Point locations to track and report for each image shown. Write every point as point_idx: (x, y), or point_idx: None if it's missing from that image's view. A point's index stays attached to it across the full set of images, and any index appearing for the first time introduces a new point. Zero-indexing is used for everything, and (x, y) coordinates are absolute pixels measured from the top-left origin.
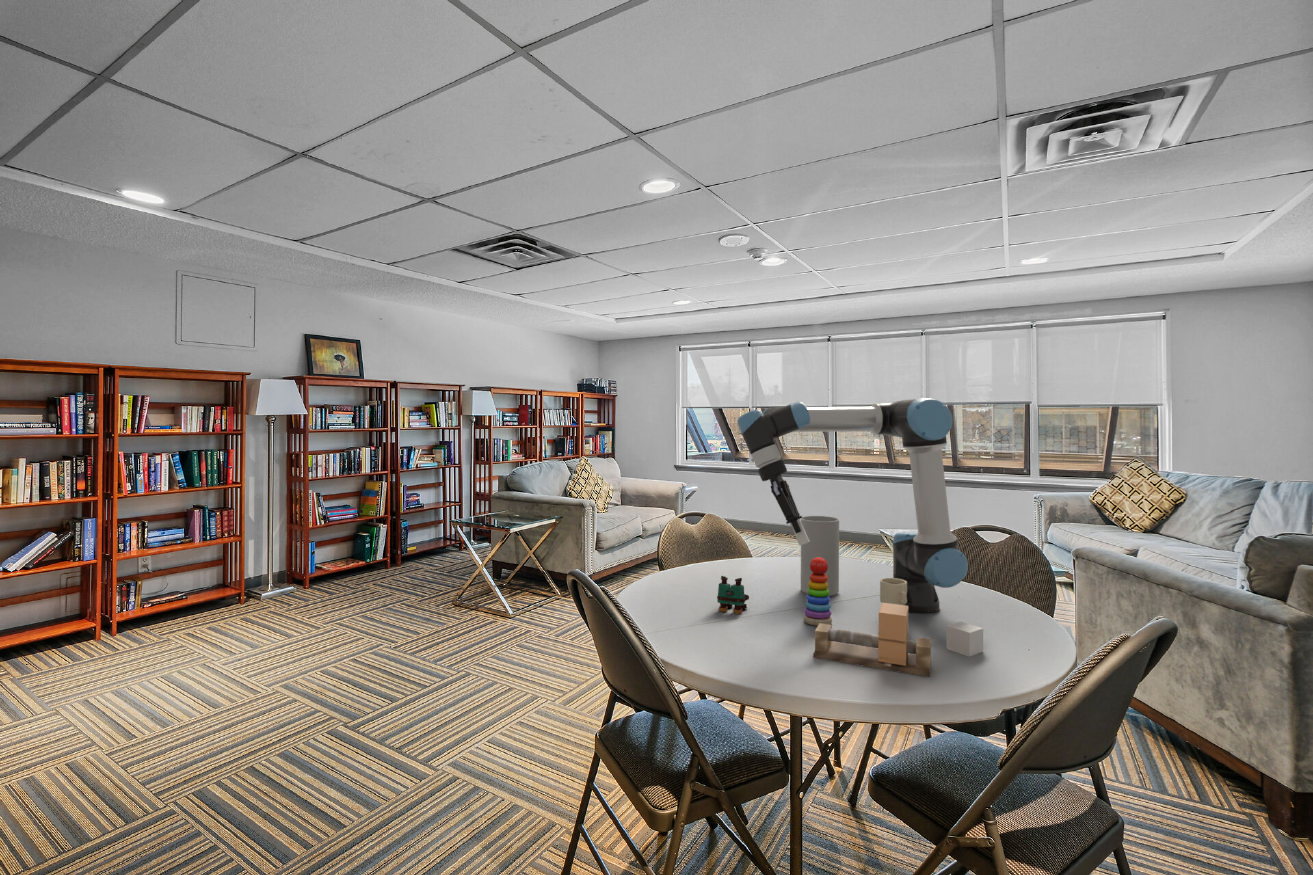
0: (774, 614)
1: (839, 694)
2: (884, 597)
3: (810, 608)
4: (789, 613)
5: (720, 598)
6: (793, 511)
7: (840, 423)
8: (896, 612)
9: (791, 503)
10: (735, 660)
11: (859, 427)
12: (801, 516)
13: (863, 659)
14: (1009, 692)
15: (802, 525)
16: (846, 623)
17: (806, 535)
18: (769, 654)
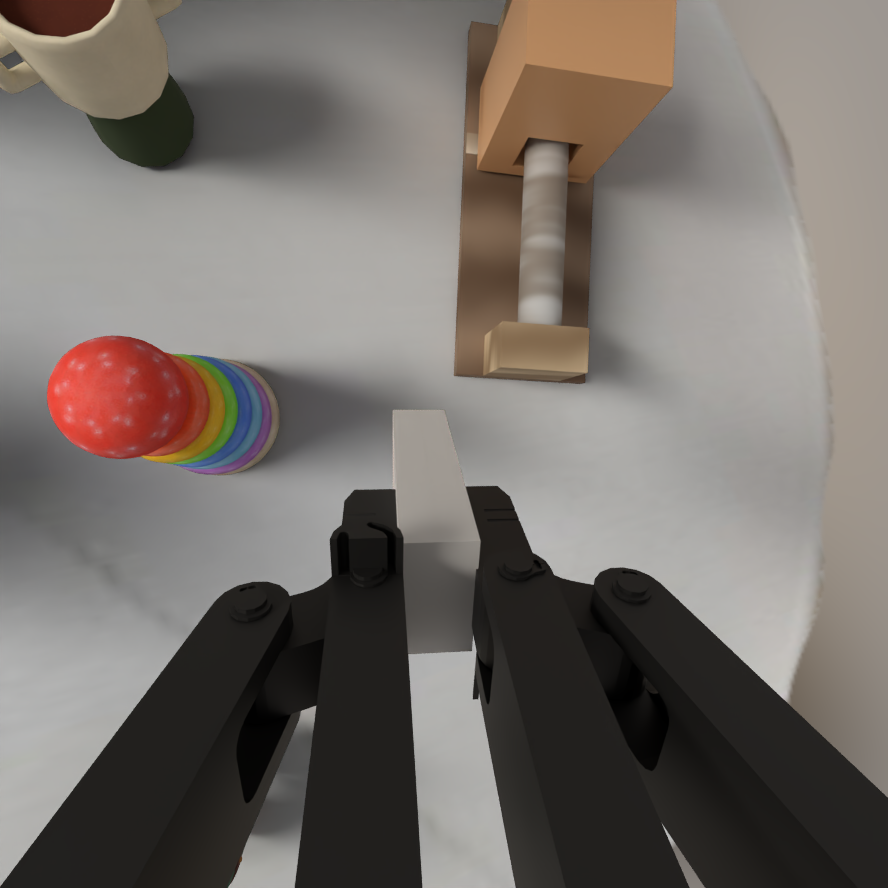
0: (191, 603)
1: (784, 288)
2: (145, 82)
3: (254, 440)
4: (150, 548)
5: (238, 862)
6: (582, 653)
7: None
8: (646, 13)
9: (416, 830)
10: (688, 595)
11: None
12: (362, 531)
13: (573, 229)
14: None
15: (406, 491)
16: (187, 307)
17: (425, 435)
18: (608, 514)
